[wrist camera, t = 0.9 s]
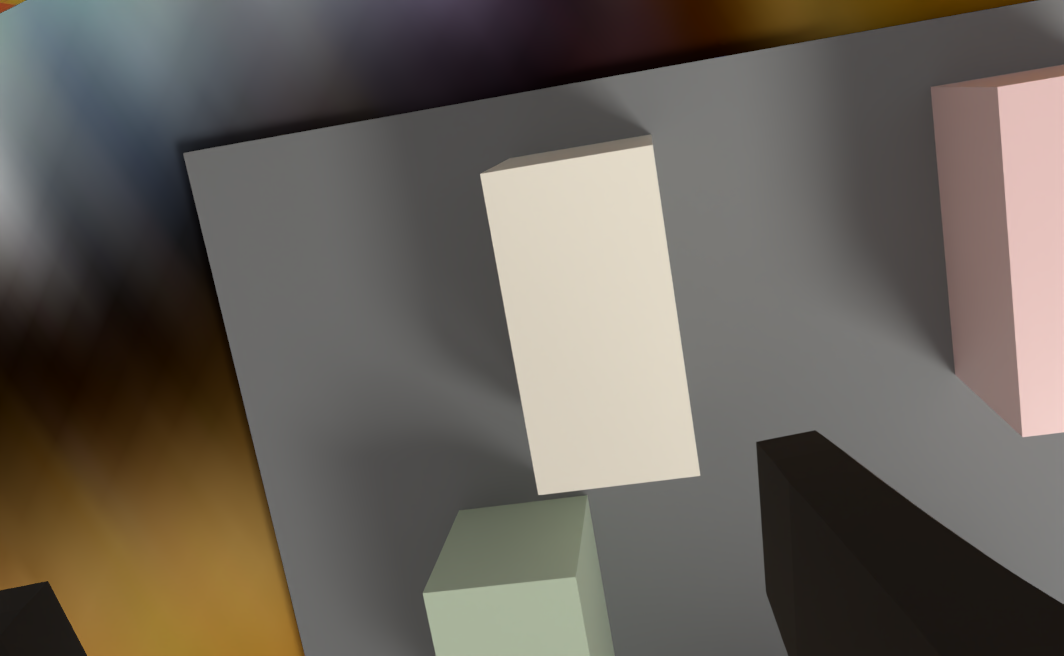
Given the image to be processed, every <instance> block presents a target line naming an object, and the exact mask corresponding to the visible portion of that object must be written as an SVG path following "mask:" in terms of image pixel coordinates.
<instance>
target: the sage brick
mask: <svg viewBox="0 0 1064 656" xmlns="http://www.w3.org/2000/svg"><path fill="white" fill-rule="evenodd" d="M423 598H424V602H425V607H426V612H427V616H428V621H429V626H430V631H431V635H432V640H433V645H434V649H435V654H436V656H615V654H614V648H613V642H612V636H611V631H610V625H609V619H608V613H607V607H606V601H605V595H604V590H603V584H602V578H601V572H600V566H599V560H598V554H597V548H596V543H595V537H594V531H593V525H592V519H591V513H590V507H589V502H588V496H587V495H585V496H576V497H568V498H560V499H551V500H543V501H534V502H526V503H518V504H509V505H501V506H492V507H484V508H476V509H467V510H459V512H458V514H457V516H456V518H455V521H454V523H453V525H452V528H451V530H450V532H449V534H448V537H447V539H446V541H445V543H444V546H443V548H442V550H441V553H440V555H439V557H438V559H437V562H436V564H435V566H434V569H433V571H432V573H431V575H430V578H429V580H428V582H427V584H426V587H425V589H424V591H423Z"/></svg>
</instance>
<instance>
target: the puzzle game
mask: <svg viewBox="0 0 1064 656" xmlns="http://www.w3.org/2000/svg"><path fill="white" fill-rule="evenodd" d="M24 1H26V0H0V13H2V12H4V11H6V10H8V9H10V8H12V7H14V6H16V5H18V4H20V3H22V2H24Z"/></svg>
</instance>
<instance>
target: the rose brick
mask: <svg viewBox="0 0 1064 656" xmlns="http://www.w3.org/2000/svg"><path fill="white" fill-rule="evenodd" d="M931 98H932V110H933V121H934V133H935V145H936V156H937V168H938V180H939V192H940V203H941V215H942V227H943V238H944V250H945V262H946V274H947V285H948V297H949V309H950V320H951V332H952V344H953V356H954V367H955V375H956V376H957V377H958V378H959V379H960V380H961V381H963V382H964V383H965V384H966V385H967V386H968V387H969V388H970V389H971V390H972V391H973V392H974V393H975V394H976V395H978V396H979V397H980V398H981V399H982V400H983V401H984V402H985V403H986V404H987V405H988V406H989V407H990V408H992V409H993V410H994V411H995V412H996V413H997V414H998V415H999V416H1000V417H1001V418H1002V419H1003V420H1004V421H1006V422H1007V423H1008V424H1009V425H1010V426H1011V427H1012V428H1013V429H1014V430H1015V431H1016V432H1017V433H1018V434H1020V435H1021V436H1022V437H1029V436H1037V435H1046V434H1054V433H1062V432H1064V64H1063V65H1057V66H1051V67H1046V68H1040V69H1034V70H1028V71H1022V72H1016V73H1010V74H1004V75H998V76H992V77H986V78H981V79H975V80H969V81H963V82H957V83H951V84H945V85H939V86H933V87H931Z"/></svg>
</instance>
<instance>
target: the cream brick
mask: <svg viewBox="0 0 1064 656" xmlns="http://www.w3.org/2000/svg"><path fill="white" fill-rule="evenodd" d="M480 177H481V182H482V188H483V193H484V199H485V204H486V210H487V215H488V221H489V226H490V232H491V237H492V243H493V248H494V254H495V260H496V265H497V271H498V276H499V282H500V287H501V293H502V298H503V304H504V309H505V315H506V320H507V326H508V331H509V337H510V342H511V348H512V353H513V359H514V364H515V370H516V375H517V381H518V386H519V392H520V397H521V403H522V408H523V414H524V419H525V425H526V430H527V436H528V441H529V447H530V452H531V458H532V463H533V469H534V474H535V480H536V485H537V491H538V495H545V494H553V493H561V492H570V491H578V490H587V489H595V488H603V487H612V486H620V485H628V484H637V483H645V482H653V481H662V480H670V479H678V478H687V477H695V476H700V470H699V463H698V456H697V448H696V441H695V434H694V427H693V420H692V413H691V406H690V399H689V392H688V385H687V378H686V372H685V365H684V358H683V351H682V344H681V337H680V330H679V323H678V316H677V309H676V302H675V295H674V288H673V282H672V275H671V268H670V261H669V254H668V247H667V240H666V233H665V226H664V219H663V212H662V205H661V198H660V191H659V185H658V178H657V171H656V164H655V157H654V150H653V143H652V136H651V134H650V135H644V136H638V137H632V138H626V139H620V140H614V141H609V142H603V143H597V144H591V145H585V146H579V147H573V148H567V149H561V150H555V151H549V152H544V153H538V154H532V155H526V156H520V157H514V158H509V159H507V160H505V161H503V162H502V163H500V164H498V165H496V166H494V167H492V168H490V169H488V170H486V171H484V172H483V173H481V174H480Z"/></svg>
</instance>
